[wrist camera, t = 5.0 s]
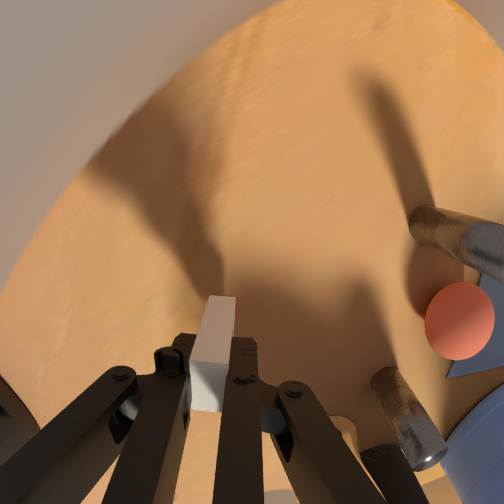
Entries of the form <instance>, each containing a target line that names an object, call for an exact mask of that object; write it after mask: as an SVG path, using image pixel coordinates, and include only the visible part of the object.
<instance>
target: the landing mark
mask: <svg viewBox="0 0 504 504" xmlns="http://www.w3.org/2000/svg"><path fill="white" fill-rule="evenodd" d="M478 287H480V288H481V289H482V290H484V291H485V293H486V294H487V295H488V296H489V298H490V300H491V302H492V305H493V308H494V314H495V322H494V328H493V332H492V335H491V337H490V339H489V341H488V342H487V344H486V345H485V346H484V348H483V349H482V350H481V351H479V352H478V353H477V354H475V355H474V356H472V357H470V358H467V359H463V360H453V363H452V365H451V368H450V370H449V372H448V375H447V377H446V378H447V379H448V378H454V377H459V376H464V375H468V374H473V373H477V372H482V371H486V370H490V369H494V368H498V367H502V366H504V285H503V284H501V283H499V282H498V281H496V280H494V279H492V278H490V277H488V276H486V275H485V274H483V273H481V276H480V281H479V284H478Z"/></svg>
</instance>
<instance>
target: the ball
mask: <svg viewBox="0 0 504 504" xmlns="http://www.w3.org/2000/svg"><path fill="white" fill-rule="evenodd" d="M494 322H495V314H494V308H493V305H492V302H491V300H490V298H489V296H488V295H487V294H486V293H485V291H484V290H482V289H481V288H480V287H478V286H477V285H475V284H472V283H468V282H457V283H453V284H450V285H448V286H446V287H444V288H443V289H442V290H440V291H439V292H438V293H437V294H436V295H435V296H434V298H433V299H432V301H431V302H430V304H429V306H428V309H427V312H426V316H425V333H426V337H427V340H428V342H429V344H430V345H431V347H432V348H433V349H434V351H435V352H436V353H438V354H439V355H440V356H442V357H444V358H447V359H450V360H463V359H467V358H470V357H472V356H474V355H475V354H477V353H478V352H479V351H481V350H482V349H483V348H484V346H485V345H486V344H487V342H488V341H489V339H490V337H491V335H492V332H493V328H494Z"/></svg>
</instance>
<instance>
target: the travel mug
mask: <svg viewBox="0 0 504 504" xmlns="http://www.w3.org/2000/svg"><path fill="white" fill-rule="evenodd" d="M360 456H361V458H362V460H363V463H364V464H365V466H366V468H367V469H368V471H369V472H370V474H371V476H372V477H373V479H374V480H375V482H376V483H377V485H378V486H379V488H380V490H381V491H382V493H383V494H384V496H385V498H386V500H387V502H388V504H429V502H428V500H427V498H426V496H425V494H424V492H423V490H422V488H421V486H420V484H419V482H418V480H417V478H416V476H415V474H414V472H413V470H412V468H411V466H410V464H409V463H408V461H407V459H406V457H405V455H404V453H403V452H402V450H401V449H400V448H399V447H398V446H395V445H382V446H378V447H374V448H371V449H369V450H366V451H364V452H362V453H360Z"/></svg>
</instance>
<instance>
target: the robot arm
mask: <svg viewBox="0 0 504 504" xmlns="http://www.w3.org/2000/svg"><path fill="white" fill-rule="evenodd" d="M235 301H236V297H227V296H214V295H210V296H209V299H208V302H207V305H206V308H205V311H204V314H203V318H202V321H201V324H200V327H199V330H198V333H197V334H187V333H181V334H179V335H178V336H177V337H175V339H174V341H173V344H172V346H171V347H163V348H160V349H158V350H156V351H155V353H154V359H155V368H156V370H155V372H154V373H152V374H147V375H136V372H135V371H134V369H132V368H130V367H128V366H115V367H112V368H110V369H109V370H107V371H106V372H105V373H104V374H103V375H102V376H100V377H99V378H98V379H97V380H96V381H95V382H94V383H93V384H92V385H90V386H89V387H88V388H87V389H86V390H85V391H84V392H83V393H81V394H80V395H79V396H78V397H77V398H76V399H75V400H74V401H72V402H71V403H70V404H69V405H68V406H67V407H66V408H65V409H64V410H62V411H61V412H60V413H59V414H58V415H57V416H56V417H55V418H54V419H52V420H51V421H50V422H49V423H48V424H47V425H46V426H45V427H44V428H42V429H41V430H40V429H39V427H38V425H37V424H36V422H35V420H34V419H33V417H32V416H31V414H30V413H29V411H28V410H27V409H26V407H25V406H24V405H23V404H22V402H21V401H20V400H19V399H18V398H17V396H16V395H15V394H14V393H13V392H12V391H11V390H10V389H9V387H8V386H7V385H6V384H5V383H4V382H3V381H2V380H1V379H0V504H80V503H81V502H82V501H83V500H84V498H85V497H86V496H87V495H88V493H89V492H90V491H91V489H92V488H93V487H94V486H95V485H96V483H97V482H98V481H99V480H100V478H101V477H102V476H103V475H104V473H105V472H106V471H107V470H108V468H109V467H110V466H111V465H112V463H113V462H114V461H115V460H116V458H117V457H118V456H119V455H120V456H119V458H118V461H117V464H116V466H115V469H114V471H113V474H112V476H111V479H110V482H109V484H108V487H107V490H106V492H105V495H104V498H103V500H102V503H101V504H173V499H174V493H175V488H176V483H177V479H178V474H179V469H180V464H181V459H182V454H183V450H184V445H185V440H186V435H187V431H188V426H189V422H190V406H191V405H192V410H201V411H211V412H222V416H221V425H220V434H219V444H218V453H217V462H216V472H215V481H214V491H213V501H212V504H264V485H263V458H262V432H266V433H270V437H271V439H272V442H273V444H274V446H275V449H276V451H277V454H278V456H279V458H280V460H281V463H282V465H283V467H284V470H285V472H286V474H287V476H288V479H289V481H290V483H291V485H292V488H293V490H294V492H295V494H296V496H297V499H298V501H299V503H300V504H388V503H387V502H386V501H385V499H384V498H383V496H382V495H381V493H380V492H379V490H378V489H377V488H376V486H375V485H374V483H373V482H372V480H371V479H370V477H369V476H368V475H367V473H366V472H365V470H364V469H363V467H362V466H361V464H360V463H359V461H358V460H357V458H356V457H355V455H354V454H353V452H352V451H351V449H350V448H349V446H348V445H347V444H346V442H345V441H344V439H343V438H342V436H341V435H340V433H339V432H338V430H337V429H336V427H335V426H334V424H333V422H332V421H331V419H330V418H329V416H328V415H327V413H326V412H325V410H324V409H323V407H322V406H321V404H320V403H319V401H318V400H317V398H316V397H315V395H314V393H313V392H312V390H311V389H310V388H309V387H308V386H307V385H306V384H304V383H302V382H298V381H287V382H283V383H282V384H280V385H279V387H275V386H271V385H268V384H266V383H264V382H263V381H262V380H260V378H259V377H258V366H257V343H256V342H255V341H254V340H253V338H244V337H234V319H235ZM261 431H262V432H261Z"/></svg>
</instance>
